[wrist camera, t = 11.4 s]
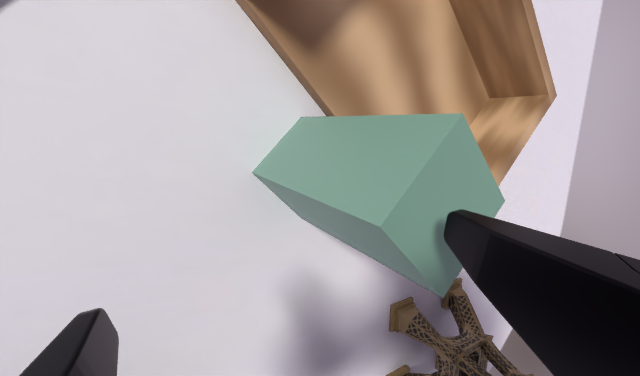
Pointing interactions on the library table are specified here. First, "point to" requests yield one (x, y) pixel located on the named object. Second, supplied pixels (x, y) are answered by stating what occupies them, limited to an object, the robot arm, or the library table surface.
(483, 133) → the oak crate
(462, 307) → the eiffel tower
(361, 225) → the green block
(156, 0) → the library table surface
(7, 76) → the library table surface
